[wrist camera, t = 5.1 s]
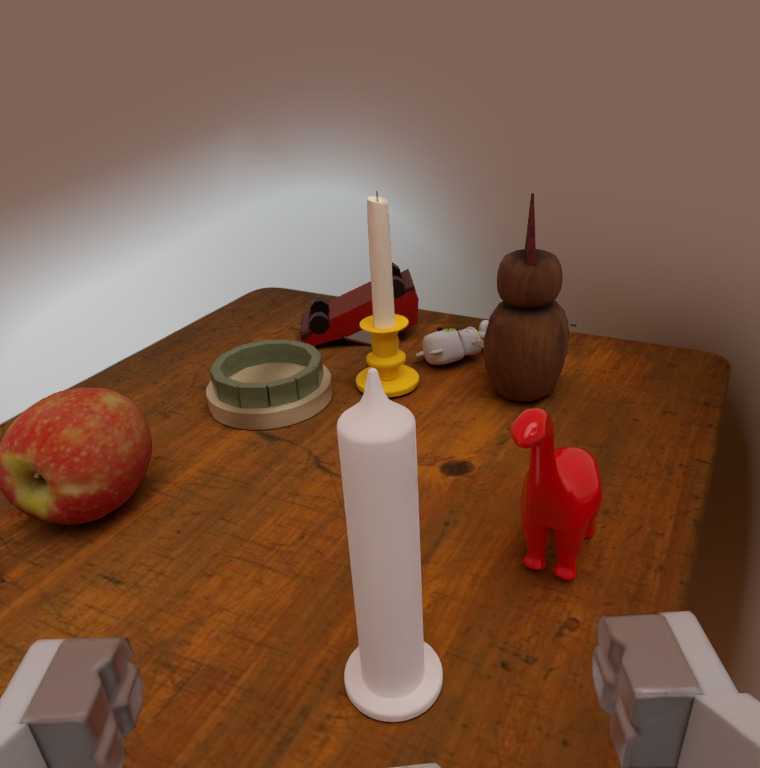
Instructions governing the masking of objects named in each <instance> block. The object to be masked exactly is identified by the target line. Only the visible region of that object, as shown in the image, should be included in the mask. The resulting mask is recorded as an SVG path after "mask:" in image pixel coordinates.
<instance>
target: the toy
mask: <svg viewBox="0 0 760 768" xmlns="http://www.w3.org/2000/svg"><path fill="white" fill-rule="evenodd" d="M488 323H489V321H487V320H484V321H482V322H481V324H480V327H479V332H478V331H477V330H475V329H474V328H473V327H467V328H466V329H463V330H461V331H458V330H457V329H442V328H441V327H439V328H437V330H438V331H437V332H434V333H432V334H429V335H427V336H425V337H424V339H423V351H421V352H420V353H417V354H416V357H422V356H425V359H426V361H427V362H428V363H429V364H432V365H443V364H448V363H452V362H455V361H458V360H460V359H462V358H463V357H464V356H465V355H474V354H478V353H480V352H481V350H482V348H484V346H483V345H484V343H483V342H484V341H483V340H482V338H484V339H485V332H486V329H487V326H488ZM571 326H576V325H571Z"/></svg>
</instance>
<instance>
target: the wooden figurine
mask: <svg viewBox="0 0 760 768" xmlns="http://www.w3.org/2000/svg"><path fill="white" fill-rule="evenodd" d="M561 287H562V269H561V264H560V262H559V260H558V258H557V257H556V256H555V255H554V254H552V253H550V252H547V251H543V250H538V249H535V215H534V194H533V193H532V194H531V201H530V210H529V218H528V227H527V237H526V244H525V249H523V250H517V251H514V252H512V253H510V254H507V255H506V256H505V257H504V258H503V260H502V262H501V263H500V266H499V269H498V276H497V289H498V293H499V295H500V298H501V299H502V300H503V302H501V303H499V304H498V306H497V307H496V309H495V310H494V312H493V313H492V314H491V316H490V319H489V323H488V326H487V329H486V332H485V340H484V359H485V365H486V370H487V373H488V376H489V379H490V381H491V383H492V385H493V387H494V388H495V390H496V391H497V392H498V393H499V394H500V395H501V396H502V397H504V398H506V399H508V400H512V401H518V402H530V401H535V400H538V399H540V398H543V397H544V396H546V395H547V394H549V393H550V392H551V391H552V390H553V389H554V387H555V384H556V382H557V380H558V378H559V376H560V373H561V370H562V368H563V365H564V361H565V356H566V352H567V348H568V338H569V329H568V320H567V317H566V314H565V311H564V310H563V309H562V307H561V306H560V305H559V304H558V303H557V302H556V301H555V300H554V299H556V298H557V296H558V294H559V292H560V290H561Z"/></svg>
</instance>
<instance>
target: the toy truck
mask: <svg viewBox="0 0 760 768" xmlns="http://www.w3.org/2000/svg"><path fill="white" fill-rule="evenodd" d="M392 277H393V294H394V312H395V314H398V315H401V316H404V317H406V318H407V319H408V322H409V324H408V325H407V326H406V327H405V328H404V329H406V328H408V327H410V326H412V325H414V324H416V323H417V314H418V297H417V294H416V290H415V287H414V284H413V281H412V278H411V275H410V272H409V270H408V269H407V270H405V271H403V272H401V273H400V269H399V267H398V266H397V265H395V264H394V263H392ZM310 309H311V311H307V312H305V313H303V314H302V322H301V333H300V337H301V340H303V339H304V341H305V343H307V344H311V346H312V345H313V346H316V345H319V344H322V343H326V342H329V341H333V340H337V339H343V340H344V339H345V340H349V341H353V342H357V343H361V344H365V345H371V340H372V336H371V332H367V331H364V330H363V329H361V327H360V322H361V320H363V319H364V318H366V317H369V316H372V315H373V305H372V287H371V282H369V283H367V284H364V285H362V286H360V287H358V288H356V289H354V290H352V291H350V292H348V293H346V294H343V295H342V296H339V297H337V298H335V299H333V300H331V301H329V304H328V301H327V300H325V299H324V298H322V297H321V298H315V299H314V300H313V301H312V303H311V304H310ZM404 329H402V330H404ZM402 330H399V331H398V332H400V331H402Z"/></svg>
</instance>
